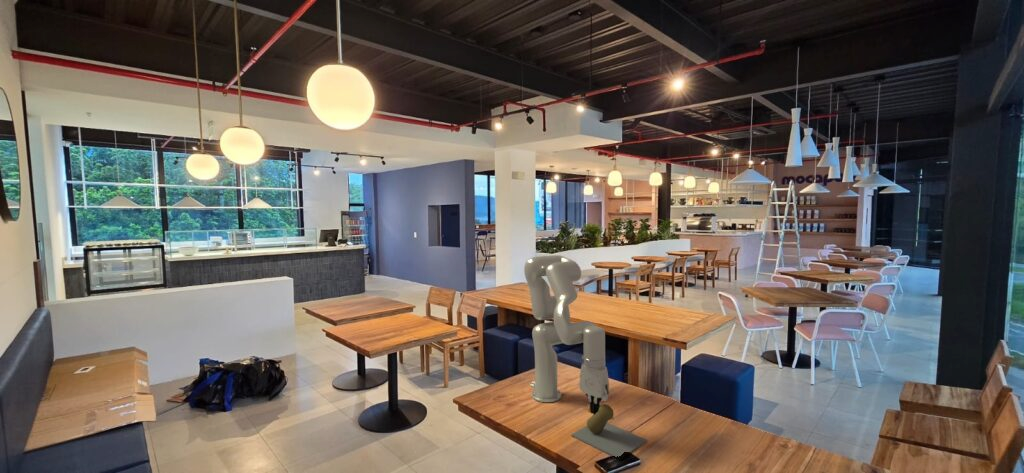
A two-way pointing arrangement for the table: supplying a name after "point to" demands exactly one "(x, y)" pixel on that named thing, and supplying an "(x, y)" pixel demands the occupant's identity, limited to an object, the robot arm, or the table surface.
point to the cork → (600, 419)
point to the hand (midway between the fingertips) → (594, 412)
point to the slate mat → (610, 440)
